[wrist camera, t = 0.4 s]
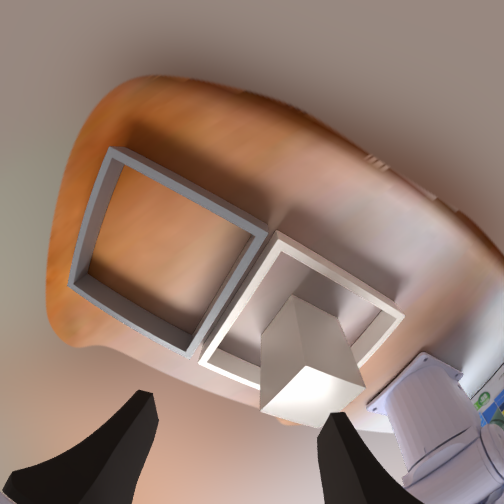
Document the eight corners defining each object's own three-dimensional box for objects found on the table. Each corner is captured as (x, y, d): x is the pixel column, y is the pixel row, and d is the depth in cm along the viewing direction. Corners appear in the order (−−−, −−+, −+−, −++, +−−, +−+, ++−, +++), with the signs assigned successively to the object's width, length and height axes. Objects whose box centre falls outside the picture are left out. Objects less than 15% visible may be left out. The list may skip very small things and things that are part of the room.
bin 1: (267, 224, 16) (268, 233, 15) (195, 342, 20) (189, 359, 18) (125, 146, 15) (109, 146, 13) (81, 275, 18) (67, 285, 16)
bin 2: (394, 301, 18) (405, 315, 16) (312, 392, 21) (316, 409, 19) (276, 229, 16) (278, 238, 15) (202, 346, 20) (197, 363, 18)
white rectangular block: (337, 318, 18) (366, 387, 12) (305, 355, 20) (318, 428, 13) (291, 294, 18) (305, 365, 11) (260, 335, 19) (259, 411, 12)
